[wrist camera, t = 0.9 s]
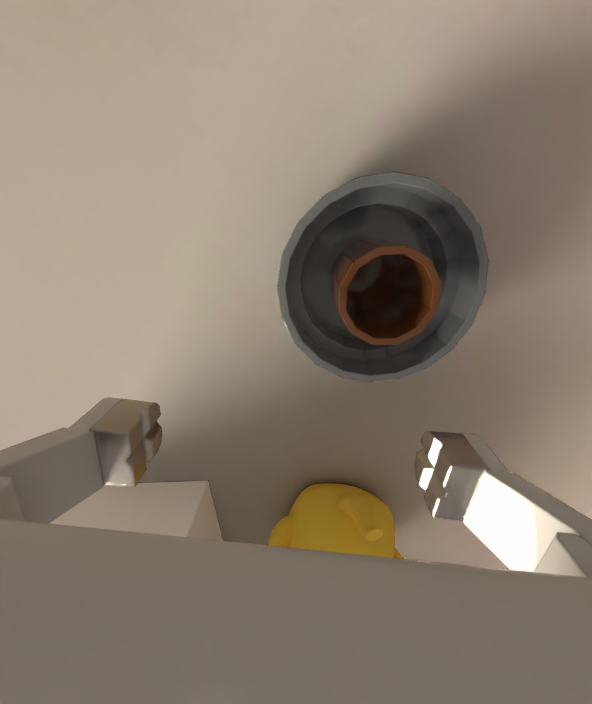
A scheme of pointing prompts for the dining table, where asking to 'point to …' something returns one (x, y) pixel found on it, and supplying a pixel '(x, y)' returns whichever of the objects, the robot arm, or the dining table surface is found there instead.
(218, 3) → the dining table surface
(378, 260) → the cup
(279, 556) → the robot arm
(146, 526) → the white v-notched block
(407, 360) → the grey round tub
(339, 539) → the teapot
